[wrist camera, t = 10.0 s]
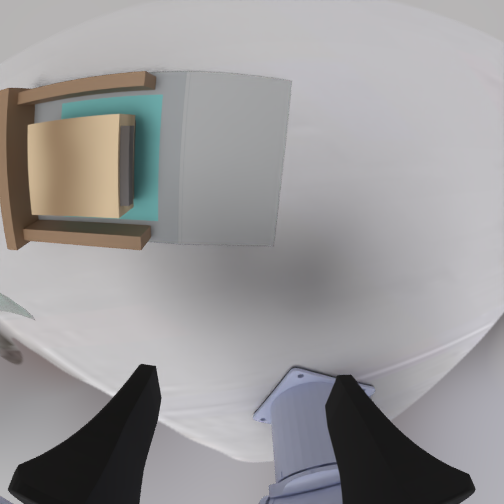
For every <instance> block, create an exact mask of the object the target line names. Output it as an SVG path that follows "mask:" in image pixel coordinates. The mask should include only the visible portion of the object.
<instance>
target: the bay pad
mask: <svg viewBox="0 0 504 504" xmlns="http://www.w3.org/2000/svg"><path fill="white" fill-rule="evenodd" d="M162 100H163V95H138V96H122V97H111V98H101V99H92V100H84V101H76V102H69V103H63V104H62V115H61V119H69V118H77V117H86V116H97V115H109V114H131V115H135V120H136V133H135V165H134V199H133V201H134V207H133V208H132V209H130V210H129V211H128V212H126V213H125V214H124V215H123V216H121V217H120V218H109V219H128V220H146V221H158V175H159V146H160V128H161V113H162ZM64 217H79V216H64ZM88 218H101V217H88Z"/></svg>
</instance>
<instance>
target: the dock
mask: <svg viewBox="0 0 504 504" xmlns="http://www.w3.org/2000/svg"><path fill="white" fill-rule="evenodd" d="M291 86H292V81H290V80H283V79H277V78H269V77H262V76H253V75H243V74H232V73H219V72H199V71H172V72H149V73H148V72H146V71H141V72H129V73H119V74H110V75H102V76H95V77H88V78H82V79H76V80H70V81H65V82H60V83H55V84H51V85H46V86H42V87H38V88H34V89H26V88H7V89H4V90H1V91H0V204H1V212H2V219H3V226H4V232H5V237H6V243H7V248H8V249H10V250H18V249H20V248H21V247H22V246H24V245H25V244H27V243H28V242H30V241H38V242H50V243H61V244H73V245H85V246H97V247H109V248H121V249H133V250H142V248H143V247H144V246H145V245H146V243H147V242H157V243H170V244H191V245H241V246H274V238H275V230H276V222H277V214H278V205H279V197H280V189H281V180H282V171H283V162H284V153H285V144H286V135H287V125H288V116H289V106H290V96H291ZM138 95H163V100H162V113H161V128H160V146H159V175H158V221H146V220H128V219H109V218H88V217H64V216H53V215H32V210H31V201H30V190H29V175H28V125H30V124H35V123H41V122H47V121H54V120H61V115H62V104H63V103H69V102H76V101H84V100H92V99H101V98H111V97H122V96H138Z"/></svg>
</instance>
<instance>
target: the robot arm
mask: <svg viewBox="0 0 504 504" xmlns="http://www.w3.org/2000/svg"><path fill="white" fill-rule="evenodd" d="M300 374H302V375H300ZM374 392H375V389H374V387H373V386H368V385H363V384H359V383H357V381H356V380H355V379H354V378H353V377H352V375H337V378H334V377H330V376H326V375H322V374H318V373H314V372H310V371H307V370H303V369H300V368H293V369H291V370H290V371H289V372H288V374H287V375H286V376H285V378H284V379H283V380H282V381H281V383H280V384H279V385H278V386H277V387H276V389H275V390H274V391H273V392H272V394H271V395H270V396H269V397H268V398H267V400H266V401H265V402H264V403H263V404H262V406H261V407H260V408H259V409H258V410H257V411H256V413H255V414H254V415H253V419H254V420H255V421H259V422H264V423H269V424H271V426H272V438H273V451H274V463H275V477H276V484H272V485H269V496H265V497H263V498H262V499H261V500H260V502H259V504H460V503H461V502H463V501H464V500H465V499H467V498H468V497H469V496H471V495H472V494H473V493H474V492H475V486H474V484H473V482H472V480H471V477H470V475H469V474H467V473H465V472H463V471H460V470H458V469H456V468H454V467H451V466H449V465H447V464H446V463H444V462H442V461H440V460H438V459H436V458H435V457H433V456H432V455H430V454H429V453H427V452H426V451H424V450H423V449H421V448H420V447H419V446H417V445H416V444H415V443H414V442H412V441H411V440H410V439H409V438H408V437H406V436H405V435H404V434H403V433H402V432H401V431H400V430H399V429H398V428H396V427H395V425H393V423H392V422H391V421H390V420H389V419H388V418H387V417H386V416H385V415H384V414H383V413H382V412H381V411H380V409H379V408H378V407H377V406H376V405H375V404H374V402H373V401H372V400H371V398H370V396H371V395H372V394H373V393H374ZM160 404H161V393H160V387H159V382H158V376H157V370H156V366H152V365H145V364H140V365H139V366H138V368H137V369H136V370H135V372H134V373H133V374H132V375H131V377H130V378H129V379H128V381H127V382H126V383H125V384H124V385H123V387H122V388H121V389H120V390H119V391H118V392H117V394H116V395H115V396H114V397H113V398H112V399H111V400H110V402H109V403H108V404H107V405H106V406H105V407H104V408H103V409H102V410H101V411H100V412H99V413H98V414H97V415H96V416H95V417H94V418H93V419H92V420H90V421H89V422H88V423H87V424H86V425H85V426H84V427H82V428H81V429H80V430H79V431H77V432H76V433H75V434H74V435H72V436H71V437H69V438H68V439H67V440H65V441H64V442H62V443H61V444H59V445H57V446H56V447H54V448H53V449H51V450H49V451H47V452H45V453H44V454H42V455H40V456H38V457H36V458H34V459H31V460H29V461H27V462H24V463H22V464H20V465H18V467H17V469H16V471H15V472H14V475H13V477H12V480H11V483H10V485H9V488H8V491H9V492H10V493H11V494H12V495H13V496H14V497H16V498H17V499H18V500H19V501H21V502H22V503H24V504H139V502H140V493H141V485H142V478H143V471H144V467H145V462H146V459H147V455H148V452H149V448H150V445H151V441H152V438H153V435H154V431H155V427H156V424H157V421H158V416H159V410H160ZM0 504H13V503H11V502H9V501H8V500H6V499H4V498H3V497H1V496H0Z"/></svg>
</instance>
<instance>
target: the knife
mask: <svg viewBox="0 0 504 504" xmlns="http://www.w3.org/2000/svg"><path fill="white" fill-rule="evenodd" d="M0 311H6V312H12V313H15V314H19V315H22V316H25V317H28V318H31V319H34V317H33V316H32V315H31V314H30V313H29V312H28V311H27V310H25V309H24V308H23V307H21V306H20V305H18V304H17V303H15V302H14V301H12V300H11V299H10V298H8V297H6V296H4V295H2V294H1V293H0ZM34 320H35V319H34Z"/></svg>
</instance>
